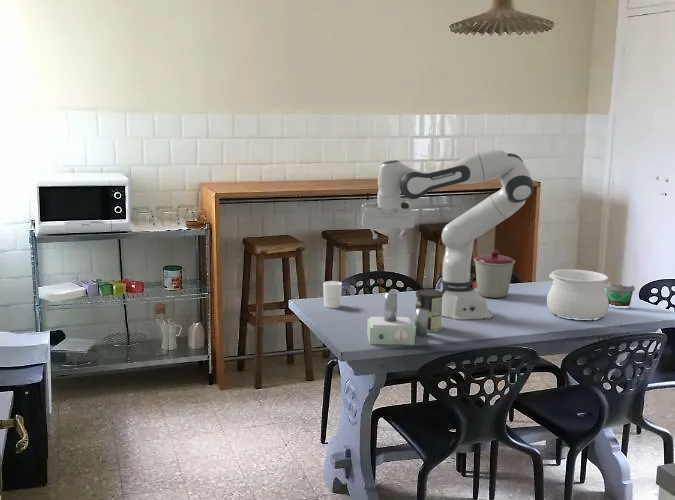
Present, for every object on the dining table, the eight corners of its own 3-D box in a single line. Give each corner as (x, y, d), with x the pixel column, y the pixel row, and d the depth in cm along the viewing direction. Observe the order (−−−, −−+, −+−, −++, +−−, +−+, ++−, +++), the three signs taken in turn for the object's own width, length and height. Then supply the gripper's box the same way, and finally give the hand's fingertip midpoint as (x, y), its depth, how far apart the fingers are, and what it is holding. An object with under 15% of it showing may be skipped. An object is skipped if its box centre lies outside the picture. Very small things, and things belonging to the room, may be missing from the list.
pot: (618, 315, 323) (622, 275, 320) (592, 326, 305) (596, 284, 302) (561, 304, 340) (564, 266, 337) (533, 314, 322) (536, 274, 319)
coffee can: (417, 331, 293) (418, 295, 291) (412, 324, 303) (413, 289, 301) (444, 331, 294) (445, 295, 292) (438, 324, 304) (440, 289, 302)
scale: (409, 334, 290) (410, 316, 289) (414, 345, 276) (415, 327, 275) (367, 333, 290) (367, 315, 288) (369, 345, 276) (370, 326, 275)
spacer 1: (395, 318, 286) (396, 292, 284) (396, 321, 281) (397, 295, 279) (383, 318, 285) (384, 291, 284) (384, 321, 281) (385, 294, 279)
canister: (516, 301, 343) (519, 254, 339) (475, 300, 343) (478, 253, 340) (508, 291, 361) (511, 246, 357) (469, 290, 361) (471, 245, 357)
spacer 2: (426, 333, 291) (427, 307, 289) (427, 337, 287) (429, 310, 285) (414, 333, 291) (415, 307, 289) (416, 337, 287) (417, 310, 285)
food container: (602, 307, 335) (604, 285, 333) (603, 304, 340) (605, 282, 339) (632, 311, 330) (634, 288, 328) (633, 307, 336) (635, 285, 334)
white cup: (339, 309, 324) (340, 285, 322) (321, 307, 325) (321, 284, 323) (343, 304, 331) (343, 281, 329) (325, 303, 333) (325, 280, 331)
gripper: (361, 203, 293) (360, 240, 296) (416, 204, 294) (414, 240, 296) (360, 201, 299) (359, 237, 302) (413, 202, 300) (412, 238, 303)
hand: (387, 239), depth 299 cm, fingers open, 8 cm apart
